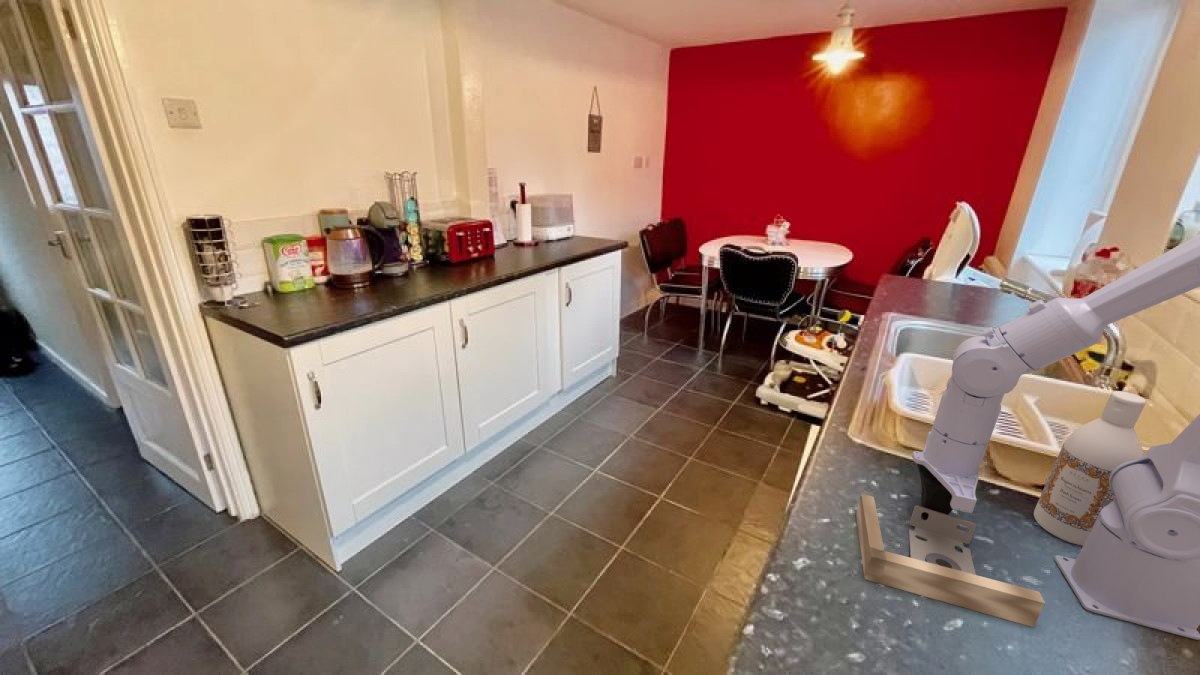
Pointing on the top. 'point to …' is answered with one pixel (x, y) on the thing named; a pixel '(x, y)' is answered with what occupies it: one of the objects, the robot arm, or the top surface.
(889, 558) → the l-shaped wooden block
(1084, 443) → the bath foam
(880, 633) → the top surface
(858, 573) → the top surface
